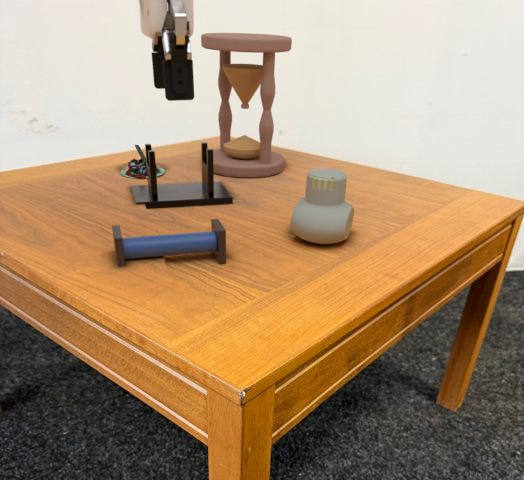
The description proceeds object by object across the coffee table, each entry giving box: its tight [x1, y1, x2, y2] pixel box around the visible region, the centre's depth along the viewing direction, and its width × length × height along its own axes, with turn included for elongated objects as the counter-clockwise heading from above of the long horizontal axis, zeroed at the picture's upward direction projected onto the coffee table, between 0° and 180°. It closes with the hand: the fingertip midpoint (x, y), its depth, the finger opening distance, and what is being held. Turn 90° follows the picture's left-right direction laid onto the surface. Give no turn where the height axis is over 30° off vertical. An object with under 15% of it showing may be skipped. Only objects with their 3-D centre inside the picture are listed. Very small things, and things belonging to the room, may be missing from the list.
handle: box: [111, 218, 227, 268], centre depth 75 cm, size 15×5×5 cm, turn 106°
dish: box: [120, 144, 166, 180], centre depth 113 cm, size 8×7×8 cm
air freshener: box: [290, 167, 355, 245], centre depth 83 cm, size 11×8×10 cm
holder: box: [130, 141, 234, 210], centre depth 98 cm, size 17×10×9 cm, turn 106°
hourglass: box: [200, 32, 293, 179], centre depth 113 cm, size 18×18×25 cm
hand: (173, 93), depth 66 cm, fingers open, 9 cm apart
